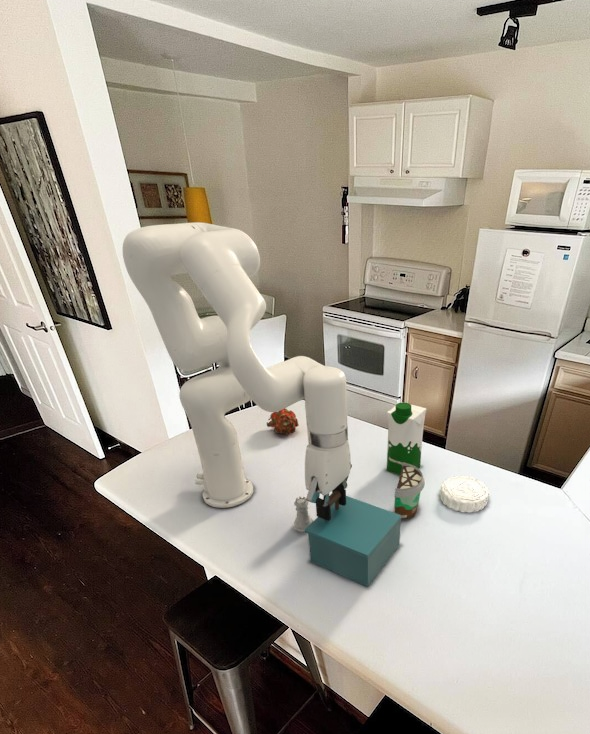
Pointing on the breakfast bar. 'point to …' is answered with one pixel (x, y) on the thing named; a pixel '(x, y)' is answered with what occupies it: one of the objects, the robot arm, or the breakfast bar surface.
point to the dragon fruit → (283, 421)
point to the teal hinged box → (354, 557)
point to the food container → (408, 491)
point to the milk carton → (404, 436)
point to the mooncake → (464, 494)
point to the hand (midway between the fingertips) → (331, 509)
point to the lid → (354, 525)
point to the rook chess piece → (302, 514)
